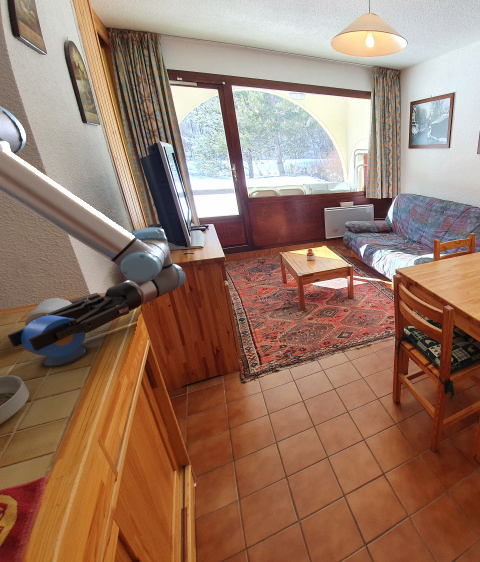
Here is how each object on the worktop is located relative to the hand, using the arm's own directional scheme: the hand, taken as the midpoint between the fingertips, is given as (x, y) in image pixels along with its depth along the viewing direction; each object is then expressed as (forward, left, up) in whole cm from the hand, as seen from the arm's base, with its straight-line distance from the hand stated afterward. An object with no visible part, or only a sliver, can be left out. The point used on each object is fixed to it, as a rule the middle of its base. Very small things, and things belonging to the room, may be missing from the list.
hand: (22, 342), depth 62 cm
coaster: (+1, +5, -7) cm, 9 cm away
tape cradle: (-16, +28, -7) cm, 33 cm away
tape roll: (+1, +5, -6) cm, 8 cm away
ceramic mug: (-12, +16, -8) cm, 21 cm away
